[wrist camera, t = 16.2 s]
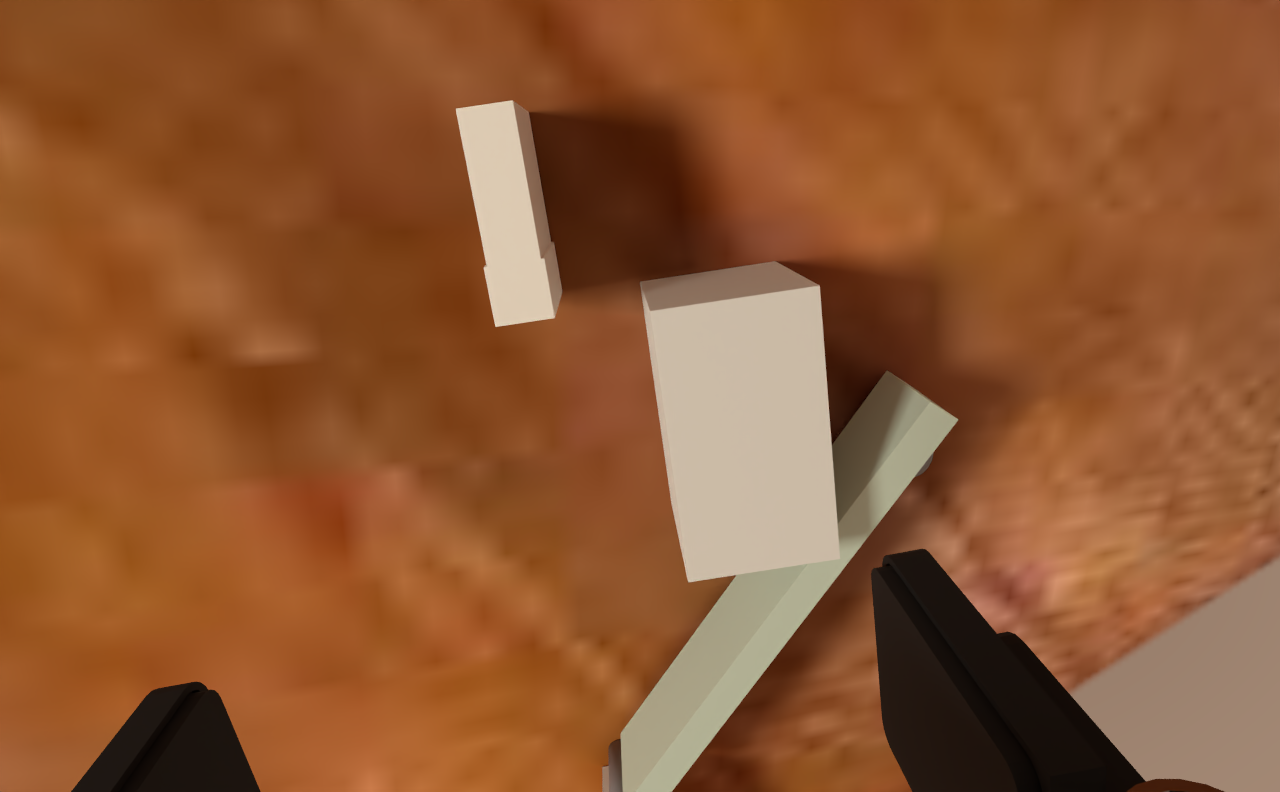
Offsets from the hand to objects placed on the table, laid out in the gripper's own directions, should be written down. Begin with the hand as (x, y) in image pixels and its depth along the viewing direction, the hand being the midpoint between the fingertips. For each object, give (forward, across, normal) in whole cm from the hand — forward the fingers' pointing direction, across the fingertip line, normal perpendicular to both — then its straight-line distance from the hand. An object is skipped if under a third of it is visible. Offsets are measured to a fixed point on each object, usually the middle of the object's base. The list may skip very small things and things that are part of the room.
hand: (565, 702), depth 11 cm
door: (+18, -5, +11) cm, 22 cm away
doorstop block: (+19, -5, +2) cm, 20 cm away
